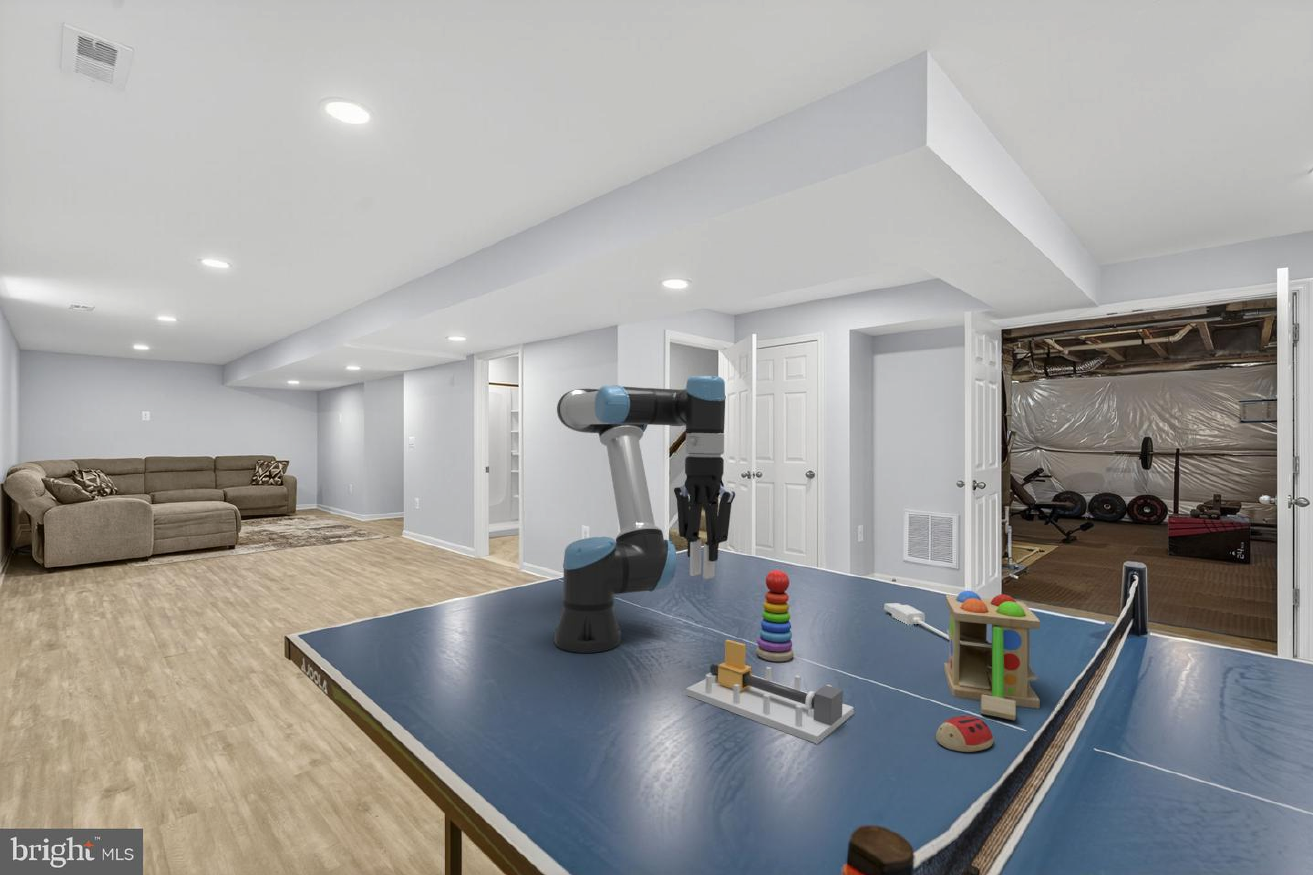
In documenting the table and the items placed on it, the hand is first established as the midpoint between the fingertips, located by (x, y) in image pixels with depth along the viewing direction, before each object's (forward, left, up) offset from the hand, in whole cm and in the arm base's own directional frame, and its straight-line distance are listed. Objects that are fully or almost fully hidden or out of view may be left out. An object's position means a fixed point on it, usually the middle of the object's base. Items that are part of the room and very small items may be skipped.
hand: (702, 575), depth 118 cm
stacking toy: (+4, +22, -21) cm, 30 cm away
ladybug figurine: (+45, +10, -21) cm, 51 cm away
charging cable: (+23, +65, -21) cm, 72 cm away
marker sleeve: (+8, 0, -19) cm, 21 cm away
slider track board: (+15, 0, -21) cm, 25 cm away
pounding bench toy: (+44, +32, -21) cm, 59 cm away
